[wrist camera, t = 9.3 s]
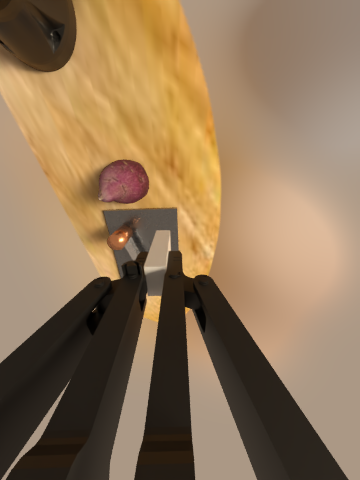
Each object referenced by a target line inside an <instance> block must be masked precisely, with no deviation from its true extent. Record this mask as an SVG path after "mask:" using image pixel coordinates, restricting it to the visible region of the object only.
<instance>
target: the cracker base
mask: <svg viewBox="0 0 360 480" xmlns="http://www.w3.org/2000/svg"><path fill="white" fill-rule="evenodd" d="M104 215H105V219H106V223H107V226H108V230H109V234H110V236H111V235H112V234H113V233H114V232H115V231H116V230H117V229H118V228H119V227H120V226H123V225H126V226H129V227H130V228H131V229H132V231H133V235H132V236H131V237H132V239H133V241H134V243H135V244H136V246H137V248H138V250H139V251H140V252H149V250H150V247H151V245H152V242H153V239H154V236H155V233H156V230H170V241H171V251H179V249H178V223H177V207H176V208H146V209H116V210H104ZM114 253H115V257H116V261H117V264H118V268H119V272H120V276H121V278H123V271H122V267H121V266H122V265H123V264H124V263H125V262H128V261H132V260H133V259H132V258H131V256H130V255H129V253H128V251H127V250H126V248H125V247H123V248H122V249H121V250H114Z"/></svg>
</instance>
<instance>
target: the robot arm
mask: <svg viewBox="0 0 360 480" xmlns="http://www.w3.org/2000/svg"><path fill="white" fill-rule="evenodd" d="M75 41H76V18H75V11H74V7H73V3H72V0H0V44H1V45H2V46H4V47H5V48H6V49H7V50H8V51H9V52H10V53H12V54H13V55H14V56H16V57H17V58H18V59H20V60H21V61H23V62H24V63H26V64H27V65H29V66H31V67H33V68H35V69H38V70H41V71H54V70H57V69H59V68H61V67H62V66H64V65H65V64H66V63H67V62H68V60H69V59H70V57H71V55H72V53H73V50H74V46H75ZM121 267H122V271H123V278H121V279H118V280H114V281H111V279H110V278H109V277H99V278H97V279H94V280H93V281H92V282H90V283H89V284H88V285H87V286H86V287H85V288H84V289H83V290H81V291H80V292H79V293H78V294H77V295H76V296H75V297H74V298H73V299H71V300H70V301H69V302H68V303H67V304H66V305H65V306H64V307H63V308H61V309H60V310H59V311H58V312H57V313H56V314H55V315H54V316H53V317H51V318H50V319H49V320H48V321H47V322H46V323H45V324H44V325H43V326H41V328H39V329H38V330H37V331H36V332H35V333H34V334H33V335H32V336H30V337H29V338H28V339H27V340H26V341H25V342H24V343H22V344H21V345H20V346H19V347H18V348H17V349H16V350H15V351H14V352H12V353H11V354H10V355H9V356H8V357H7V358H6V359H5V360H3V361H2V362H1V363H0V480H1V479H2V477H3V476H4V475H5V473H6V472H7V470H8V469H9V467H10V466H11V464H12V463H13V462H14V460H15V458H16V457H17V456H18V454H19V453H20V451H21V450H22V449H23V447H24V446H25V444H26V443H27V441H28V440H29V438H30V437H31V435H32V434H33V433H34V431H35V430H36V428H37V427H38V425H39V424H40V423H41V421H42V420H43V418H44V417H45V415H46V414H47V413H48V411H49V409H50V408H51V407H52V405H53V404H54V402H55V401H56V400H57V398H58V397H59V395H60V393H61V392H62V391H63V389H64V388H65V387H66V385H67V384H68V382H69V381H70V382H69V384H68V386H67V388H66V390H65V392H64V394H63V396H62V398H61V400H60V402H59V404H58V406H57V407H56V409H55V411H54V414H53V415H52V417H51V419H50V422H49V423H48V425H47V427H46V429H45V431H44V433H43V435H42V436H41V438H40V440H39V441H38V442H37V443H36V445H35V446H34V447H33V448H31V449H30V450H29V451H28V452H27V453H26V454H25V455H23V457H21V459H20V460H19V461H18V462H17V464H16V465H15V466H14V468H13V469H12V470H11V472H10V473H9V475H8V477H7V478H6V480H109V469H110V459H111V454H112V449H113V445H114V440H115V436H116V432H117V428H118V423H119V419H120V415H121V410H122V406H123V402H124V397H125V393H126V389H127V384H128V380H129V376H130V371H131V366H132V363H133V358H134V354H135V350H136V345H137V341H138V337H139V332H140V328H141V324H142V319H143V315H144V311H145V306H146V302H147V299H146V294H147V293H148V296H162V297H161V305H160V313H159V321H158V329H157V336H156V344H155V352H154V360H153V368H152V376H151V384H150V391H149V400H148V407H147V416H146V422H145V430H144V436H143V441H142V445H141V448H140V451H139V456H138V461H137V466H136V472H135V478H134V480H195V470H194V455H193V444H192V432H191V415H190V395H189V376H188V359H187V358H188V357H187V339H186V319H185V307H187V308H191V309H192V310H193V313H194V316H195V318H196V321H197V323H198V326H199V329H200V331H201V334H202V336H203V339H204V342H205V344H206V347H207V350H208V352H209V355H210V357H211V360H212V362H213V365H214V368H215V370H216V373H217V376H218V378H219V381H220V383H221V386H222V389H223V391H224V394H225V397H226V399H227V402H228V404H229V407H230V410H231V412H232V415H233V418H234V420H235V423H236V425H237V428H238V430H239V433H240V436H241V438H242V441H243V444H244V446H245V449H246V451H247V454H248V457H249V459H250V462H251V464H252V467H253V470H254V472H255V475H256V477H257V480H348V478H347V477H346V475H345V474H344V473H343V471H342V470H341V468H340V467H339V465H338V464H337V462H336V461H335V459H334V458H333V456H332V455H331V453H330V452H329V450H328V449H327V448H326V446H325V444H324V443H323V442H322V440H321V439H320V437H319V436H318V434H317V433H316V431H315V430H314V428H313V427H312V425H311V424H310V422H309V421H308V419H307V418H306V417H305V415H304V413H303V412H302V411H301V409H300V408H299V406H298V405H297V403H296V402H295V400H294V399H293V397H292V396H291V394H290V393H289V391H288V390H287V388H286V387H285V386H284V384H283V383H282V381H281V380H280V378H279V377H278V375H277V374H276V372H275V371H274V369H273V368H272V366H271V365H270V363H269V362H268V360H267V359H266V357H265V356H264V354H263V353H262V352H261V350H260V349H259V347H258V346H257V345H256V343H255V341H254V340H253V338H252V337H251V335H250V334H249V332H248V331H247V330H246V328H245V327H244V325H243V324H242V322H241V321H240V319H239V318H238V316H237V315H236V313H235V312H234V310H233V309H232V307H231V306H230V304H229V303H228V301H227V300H226V298H225V297H224V295H223V294H222V293H221V291H220V290H219V288H218V287H217V286H216V284H215V282H214V281H213V279H212V278H211V277H209V276H207V275H198V276H196V277H195V278H190V277H187V276H186V275H184V273H183V269H182V254H181V252H180V251H171V241H170V230H156V233H155V236H154V239H153V242H152V245H151V247H150V250H149V252H140V253H139V254H138V255H137V257H136V259H135V260H132V261H128V262H125V263H124V264H123V265H122V266H121ZM95 308H96V309H95ZM94 309H95V310H94ZM93 310H94V311H93ZM92 311H93V312H92ZM70 379H71V380H70Z"/></svg>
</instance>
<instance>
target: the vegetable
mask: <svg viewBox="0 0 360 480" xmlns="http://www.w3.org/2000/svg"><path fill="white" fill-rule="evenodd" d="M148 189H149V179H148V176H147V174H146V172H145V170H144V168H143V167H142V165H141V164H139V163H138V162H135V161H131V160H117V161H114V162H112V163H111V164H109V165H108V166H106V167H105V168H104V170H103V171H102V172H101V174H100V178H99V193H98V197H99V198H98V199H99V200H101V201H103V202H111V201H115V202H119V203H126V204H128V203H134V202H137V201H138V200H140V199H142V198H143V197H144V196H145V195H146V194H147V192H148Z"/></svg>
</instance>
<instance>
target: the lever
mask: <svg viewBox="0 0 360 480" xmlns="http://www.w3.org/2000/svg"><path fill="white" fill-rule="evenodd" d="M132 235H133V231H132V229H131V228H130V227H129V226H126V225H123V226H120V227H119V228H118V229H117V230H116V231H115V232H114V233H113V234H112V235H111V236H110V237H108V239H107V244H108V246H109V247H110V248H111V249H113V250H121V249H122V248H123V247H125V248H126V250H127V251H128V253H129V255H130V256H131V258H132V259H133V260H135V259H136V257H137V255H138V254H139V253H140V251H139V250H138V248H137V246H136V244H135V243H134V241H133V239H132V237H131V236H132Z"/></svg>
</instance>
